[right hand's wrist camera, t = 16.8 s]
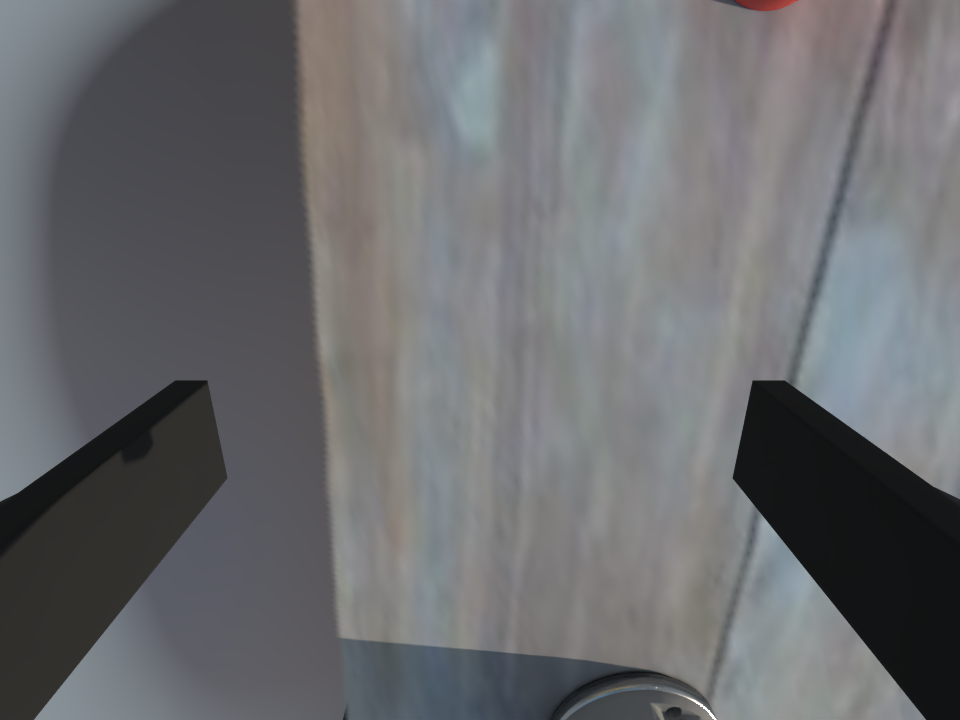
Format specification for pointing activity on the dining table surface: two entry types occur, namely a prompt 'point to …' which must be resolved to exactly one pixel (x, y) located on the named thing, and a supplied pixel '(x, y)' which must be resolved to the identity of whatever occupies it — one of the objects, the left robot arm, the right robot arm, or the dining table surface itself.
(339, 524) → the dining table surface
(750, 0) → the can
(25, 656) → the right robot arm
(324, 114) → the dining table surface
